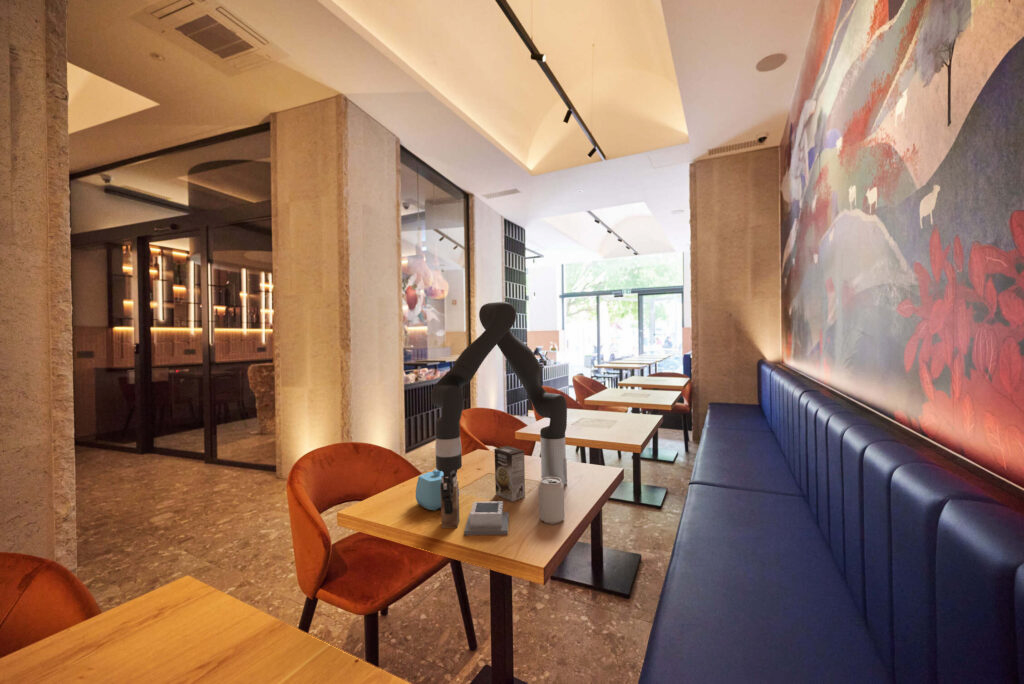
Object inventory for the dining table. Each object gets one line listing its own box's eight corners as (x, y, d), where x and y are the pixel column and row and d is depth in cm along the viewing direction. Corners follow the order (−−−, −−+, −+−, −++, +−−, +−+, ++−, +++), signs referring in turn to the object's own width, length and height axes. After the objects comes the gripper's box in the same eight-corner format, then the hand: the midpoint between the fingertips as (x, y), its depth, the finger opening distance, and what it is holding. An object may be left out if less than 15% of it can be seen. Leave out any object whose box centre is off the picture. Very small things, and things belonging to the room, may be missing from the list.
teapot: (437, 520, 125) (436, 482, 125) (410, 503, 138) (409, 469, 138) (471, 508, 133) (470, 472, 133) (442, 493, 146) (441, 461, 146)
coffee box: (494, 494, 143) (493, 448, 143) (508, 489, 147) (507, 445, 147) (511, 502, 136) (510, 453, 136) (526, 496, 141) (524, 449, 140)
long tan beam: (459, 520, 124) (458, 481, 123) (457, 527, 119) (455, 486, 119) (444, 521, 124) (443, 481, 124) (441, 527, 119) (440, 486, 119)
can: (548, 527, 118) (547, 485, 117) (534, 517, 124) (533, 478, 124) (569, 521, 121) (568, 480, 121) (555, 512, 128) (554, 473, 128)
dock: (508, 515, 126) (508, 498, 126) (507, 534, 114) (506, 515, 114) (469, 516, 126) (469, 499, 126) (464, 535, 114) (463, 516, 114)
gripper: (457, 459, 114) (459, 520, 114) (464, 445, 128) (466, 500, 128) (430, 459, 114) (432, 521, 114) (440, 446, 128) (442, 500, 129)
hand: (450, 509), depth 121 cm, fingers closed on long tan beam, 4 cm apart
